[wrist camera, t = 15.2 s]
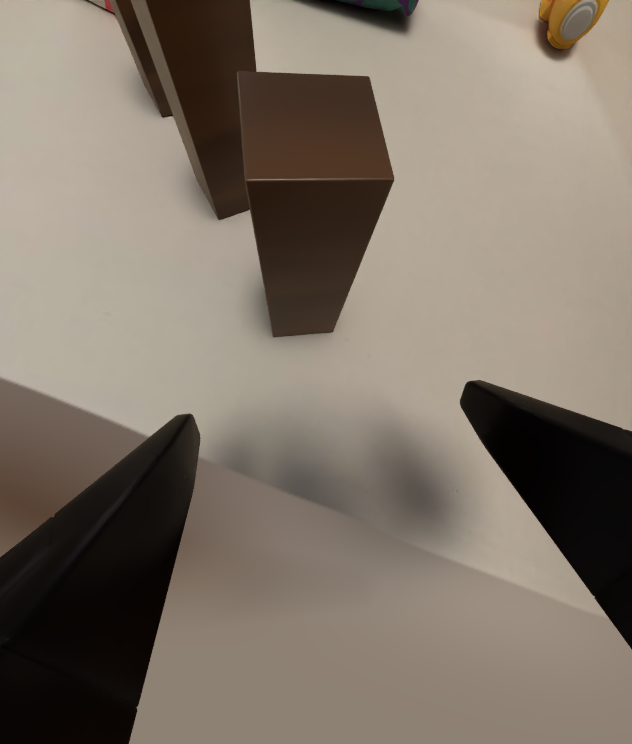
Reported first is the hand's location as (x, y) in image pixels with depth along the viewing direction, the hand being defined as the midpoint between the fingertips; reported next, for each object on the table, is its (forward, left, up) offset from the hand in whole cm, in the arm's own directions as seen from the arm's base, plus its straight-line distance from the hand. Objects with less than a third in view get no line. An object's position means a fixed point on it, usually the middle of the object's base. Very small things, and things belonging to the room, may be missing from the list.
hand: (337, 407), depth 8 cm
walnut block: (+20, +3, -10) cm, 22 cm away
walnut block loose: (+9, -1, -10) cm, 13 cm away
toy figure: (+42, -39, -10) cm, 58 cm away
